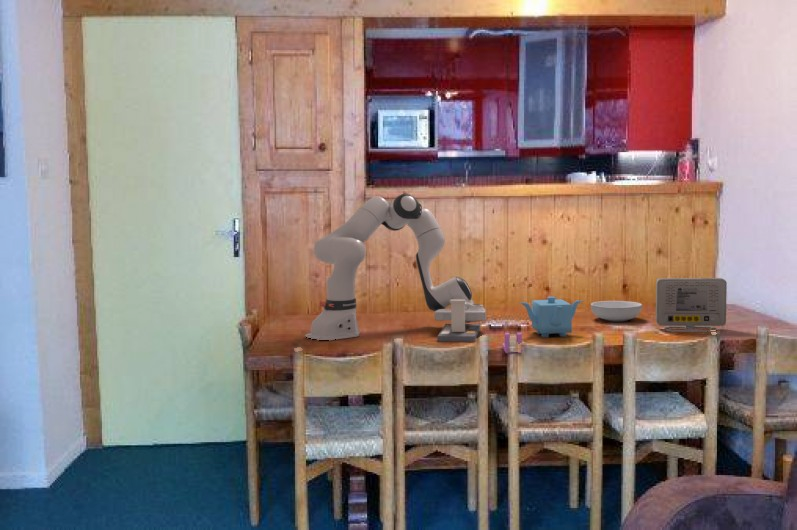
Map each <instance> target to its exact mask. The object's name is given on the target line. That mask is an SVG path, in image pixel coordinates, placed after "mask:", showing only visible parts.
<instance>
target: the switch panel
mask: <svg viewBox="0 0 797 530" xmlns="http://www.w3.org/2000/svg"><path fill="white" fill-rule="evenodd" d="M480 331H481V323H465V332H452V325H451V323H445V324H444V326H443V328H442V329H441V330H440V331H439V333H438V335H437V342H458V343H459V342H460V343H461V342H464V343H465V342H471V343H472V342H474V343H475V342H476V339H477V337H478V335H479V333H480Z"/></svg>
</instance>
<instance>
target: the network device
mask: <svg viewBox="0 0 797 530" xmlns="http://www.w3.org/2000/svg"><path fill="white" fill-rule="evenodd" d="M727 284H728V282H727V281H726V279H725V278H722V277H668V278H667V277H663V278H661V277H660V278H659V277H658V278H657V279H656V281H655V322H656V323H657V324H658V326H660V327H661V326H662V327H664V331H666V332H671V333H672V332H673V333H674V332H677V333H678V332H680V333H682V332H683V333H687V332H689V333H690V332H691V333H700V332H701V333H708V332H707V331H710V330H717V331H718V329H717V328H716V327H723V326H725V325H726V323H727V294H728V293H727V287H728V286H727Z"/></svg>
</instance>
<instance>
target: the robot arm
mask: <svg viewBox="0 0 797 530" xmlns="http://www.w3.org/2000/svg"><path fill="white" fill-rule="evenodd" d="M381 225H382V226H384V227H385V228H386V229H388V230H390V231H393V232H395V231H400V230H402V229H403V228H405V226H406V225H407V226H408V227H409V228H410V229H411V230H412V232H413V233H414V236H415V238H416V241H417V244H418V249H417V250H418V251H417V252H416V254H415V259H416V260H415V261H416V265H417V270H418V274H419V278H420V281H421V286H422V290H423V294H424V301H425V304H426V306H427V307H428V309H429V310H430V311H433V312H434V320H435V321H440V322H441V321H442V322H443V321H444V322H445V321H446V322H447V321H448V322H449V321H450V322H451V308H447V307H449V306H450V307H451V304H450V300H451V299H465V301H466V303H465V324H471V323H475V322H486V320H487V315H486V314H487V312H486V309H485V307H484V305H483V304H477V303H474V300H472V297H473V293H472V290H471V288H470V285H469V284H468V282H467V281H466V280H465V279H464V278H462V277H460V276H455V277H452V278H450V279H449V280H446V281H444V282H443V283H440V284H438V285H436V286H434V284H433V280H432V274H431V271H430V265H431V263H432V261H433V260H434V259H435V258H436V257H437V256H439V254H440V253H441V251H442V249H444V246H445V242H446V238H445V236H444V233H443V230H442V227H441V226H440V224H439V221H438V220H437V218H436V217H435V216H434V214H433V212H432V211H431V210H429V209H428V208H423V207H422V204H421V203H419V201H418V199H417V198H416V197H415V196H414V195H412V194H411V193H406V192H405V193H402V194H399V195H398V196H396V197H395V198H394V199H393V200H392V201H391V202H389V201H388V200H386V199H385V198H383V197H381V196H379V195H378V196H377V195H374V196H372V197H370V198H369V199H368V200H367V201H366V202H364V203H362V205H361V206H360V207H359V208H358V209H357V210H356V211H355V212H354V213H353V215H351V216H350V218H349V219H348V220H347V221H346V222H344V223H343V224H342V225H341V226H339V227H338V228H336V229H335V230H333V231H332V232H331V233H328V234H327V235H325V236H324V237H321V238H319V239H318V240H316V242H315V244H314V246H313V253H314V256H315V257H316V258H317V260H319V261H321V262H323V263H325V264H327V265H328V264H329V265H330V264H331V265H333V269H332V272H331V274H330V276H329V277H327V279H326V298H327V299H326V301H322V300H321V301H319V307H323V310H322V311H321V312H320V313H319V314H318V315H317V316H316V318H314V319H313V320H312V322H311V326H310V333H306V334H305V335H304V337H305V336H306V337H308V338H311V339H310V340H312V339H317V340H316V341H319V340H329V341H335V339H336V340H343V339H349V338H355V337H359V336H360V334H361V331H360V328H359V323H358V319H357V312H356V309H357V298H356V296H355V295H356V291H355V289H356V288H355V285H356V284H355V282H356V275H357V271H358V269H359V266H360V264H362V262H363V261H364V260H365V258H366V255H367V253H366V252H367V249H366V246H365V244H364V243H365V242H366V241H368V240H369V239H370V237H371V236H372V235H373V234H374V233H375V232H376V231H377V230H378V229H379V227H380V226H381ZM306 337H305V338H306ZM308 338H307V339H308Z"/></svg>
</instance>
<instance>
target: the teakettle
mask: <svg viewBox="0 0 797 530" xmlns="http://www.w3.org/2000/svg"><path fill="white" fill-rule="evenodd" d="M546 298H547V299H535V300H531V305H530V303H528V302H520V304H521V305H523V306H524V307H525V309H526V312H527V316H528V319H530V321H531V324H532V329H534V331H536V334H537V335H541V336H540V337H541V338H549V337H550V334H558V335H559V337H561V338H562V337H563V338H565V337H566V338H567V337H568V335H567V334H572V332H573V331H572V329H573V328H572V326H573V322H572V321H573V319H574V317H575V314H576V310H577V308H578V305H579V304H581V302H584V300H581V299H580V300H575V301H573V303H572V304H571V303H569V302H568V301H566V300H563V299H557V297H555V296H547V297H546Z"/></svg>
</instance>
